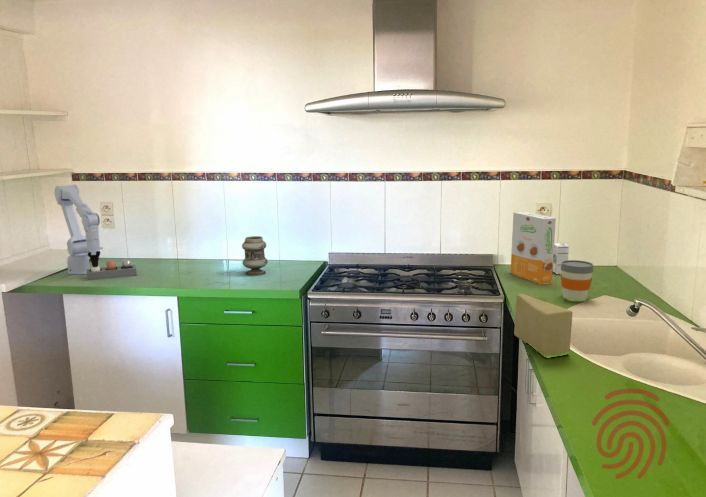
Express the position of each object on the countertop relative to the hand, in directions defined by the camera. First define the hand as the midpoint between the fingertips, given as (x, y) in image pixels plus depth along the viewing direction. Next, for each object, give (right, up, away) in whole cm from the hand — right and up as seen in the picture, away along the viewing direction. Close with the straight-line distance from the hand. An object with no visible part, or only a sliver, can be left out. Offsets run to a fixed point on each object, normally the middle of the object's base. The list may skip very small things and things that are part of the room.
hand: (95, 266), depth 278 cm
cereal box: (+207, -5, -6) cm, 208 cm away
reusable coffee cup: (+215, -12, -40) cm, 219 cm away
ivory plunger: (0, -4, +1) cm, 4 cm away
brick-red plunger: (+6, -1, +3) cm, 7 cm away
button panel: (+6, -4, +4) cm, 9 cm away
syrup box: (+224, -4, +2) cm, 224 cm away
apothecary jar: (+76, -4, +7) cm, 76 cm away
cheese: (+183, -23, -90) cm, 206 cm away
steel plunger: (+13, -1, +6) cm, 14 cm away
